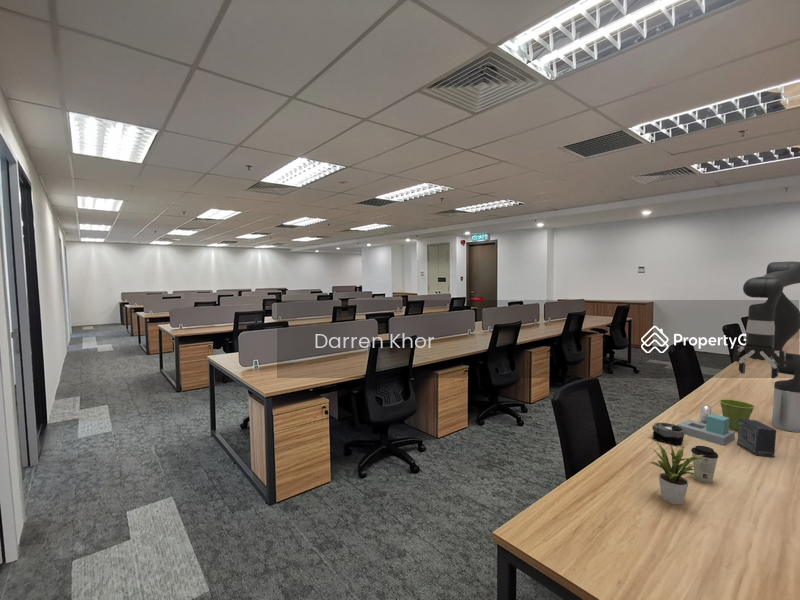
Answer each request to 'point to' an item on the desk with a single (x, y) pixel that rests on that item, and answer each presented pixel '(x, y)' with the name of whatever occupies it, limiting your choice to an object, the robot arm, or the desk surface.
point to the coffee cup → (704, 463)
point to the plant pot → (735, 411)
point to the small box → (756, 437)
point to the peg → (704, 413)
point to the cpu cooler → (668, 433)
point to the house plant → (674, 475)
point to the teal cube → (717, 424)
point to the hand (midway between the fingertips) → (757, 375)
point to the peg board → (705, 432)
